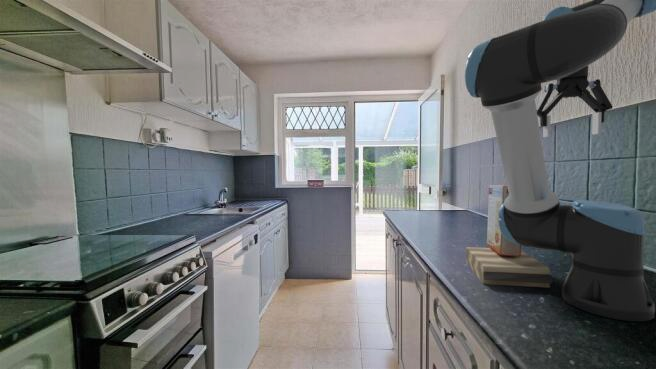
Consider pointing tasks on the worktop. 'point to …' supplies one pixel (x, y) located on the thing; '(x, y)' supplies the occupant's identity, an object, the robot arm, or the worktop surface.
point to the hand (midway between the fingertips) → (571, 135)
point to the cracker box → (493, 231)
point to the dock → (507, 268)
